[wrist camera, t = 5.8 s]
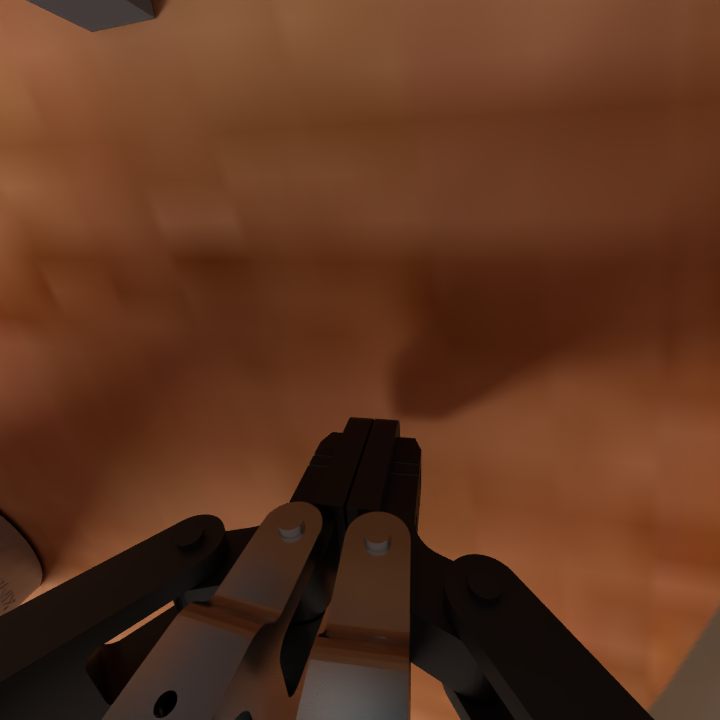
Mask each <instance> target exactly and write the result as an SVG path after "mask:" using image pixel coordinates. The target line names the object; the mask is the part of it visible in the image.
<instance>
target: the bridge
mask: <svg viewBox="0 0 720 720" xmlns="http://www.w3.org/2000/svg"><path fill="white" fill-rule="evenodd" d="M27 1H29V2H31V3H33V4H35V5H37V6H39V7H41V8H43V9H45V10H47V11H49V12H52V13H54V14H56V15H58V16H60V17H62V18H64V19H66V20H68V21H70V22H72V23H74V24H76V25H78V26H81V27H83V28H85V29H87V30H89V31H91V32H93V31H98V30H103V29H107V28H112V27H117V26H121V25H126V24H131V23H135V22H140V21H145V20H149V19H154V18H155V16H154V12H153V7H152V3H151V0H27Z"/></svg>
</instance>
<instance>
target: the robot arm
mask: <svg viewBox="0 0 720 720" xmlns="http://www.w3.org/2000/svg"><path fill="white" fill-rule="evenodd" d="M420 495H421V449H420V447H419V445H418V443H417V441H416V439H415V438H403V437H400V423H399V420H386V419H375V420H374V419H370V418H355V417H350V418H349V420H348V422H347V425H346V427H345V429H344V432H343V433H337V432H332V433H331V434H330V435H328V436H327V437H326V438H325V439H323V440H322V441H321V442H320V444H319V446H318V448H317V450H316V452H315V456H313V458H312V460H311V462H310V465H309V466H308V467H307V469H306V471H305V473H304V475H303V477H302V479H301V481H300V483H299V485H298V487H297V489H296V490H295V492H294V494H293V496H292V498H291V500H290V502H289V503H286V504H283V505H281V506H279V507H277V508H275V509H274V510H273V511H271V512H270V513H269V514H268V515H267V516H266V518H265V519H264V520H263V522H262V523H261V525H260V526H256V527H251V528H244V529H238V530H231V531H225V528H224V525H223V522H222V521H221V520H220V519H219V518H218V517H216V516H213V515H197V516H193V517H190V518H187V519H185V520H183V521H181V522H179V523H177V524H175V525H173V526H171V527H170V528H168V529H166V530H164V531H162V532H160V533H158V534H156V535H154V536H152V537H150V538H148V539H147V540H145V541H143V542H141V543H139V544H137V545H135V546H133V547H131V548H129V549H127V550H126V551H124V552H122V553H120V554H118V555H116V556H114V557H112V558H110V559H108V560H106V561H104V562H103V563H101V564H99V565H97V566H95V567H93V568H91V569H89V570H87V571H85V572H83V573H82V574H80V575H78V576H76V577H74V578H72V579H70V580H68V581H66V582H64V583H62V584H61V585H59V586H57V587H55V588H53V589H51V590H49V591H47V592H45V593H43V594H41V595H39V596H38V597H36V598H34V599H32V600H30V601H28V602H26V603H24V604H22V605H20V604H21V603H22V602H23V601H24V600H25V599H26V598H28V597H29V596H30V595H31V594H32V593H33V592H34V591H35V590H36V589H37V588H38V587H39V585H40V584H41V582H42V569H41V565H40V563H39V561H38V559H37V557H36V554H35V553H34V551H33V550H32V548H31V547H30V545H29V544H28V543H27V541H26V540H25V539H24V538H23V537H22V536H21V534H20V533H19V532H18V531H17V530H16V529H15V528H14V527H13V526H12V525H11V524H10V523H9V522H7V521H6V520H5V519H4V518H3V517H2V516H1V515H0V720H410V702H411V662H412V663H413V664H415V665H416V666H418V667H419V668H421V669H422V670H424V671H425V672H427V673H428V674H430V675H431V676H433V677H435V678H436V679H438V680H439V681H441V682H442V684H443V687H444V690H445V692H446V694H447V696H448V698H449V700H450V701H451V703H452V705H453V707H454V708H455V710H456V712H457V714H458V715H459V717H460V719H461V720H654V719H653V718H652V717H651V716H650V715H649V714H648V713H647V712H646V711H645V710H644V709H643V708H642V706H641V705H640V704H639V703H638V702H637V701H636V700H635V699H634V698H633V697H632V696H631V695H630V694H629V693H628V692H627V691H626V690H625V689H624V688H623V687H622V686H621V685H620V683H619V682H618V681H617V680H616V679H615V678H614V677H613V676H612V675H611V674H610V673H609V672H608V671H607V670H606V669H605V668H604V667H603V666H602V665H601V664H600V663H599V661H598V660H597V659H596V658H595V657H594V656H593V655H592V654H591V653H590V652H589V651H588V650H587V649H586V648H585V647H584V646H583V645H582V644H581V643H580V642H579V641H578V640H577V638H576V637H575V636H574V635H573V634H572V633H571V632H570V631H569V630H568V629H567V628H566V627H565V626H564V625H563V624H562V623H561V622H560V621H559V620H558V619H557V618H556V617H555V615H554V614H553V613H552V612H551V611H550V610H549V609H548V608H547V607H546V606H545V605H544V604H543V603H542V602H541V601H540V600H539V599H538V598H537V597H536V596H535V595H534V593H533V592H532V591H531V590H530V589H529V588H528V587H527V586H526V585H525V584H524V583H523V582H522V581H521V580H520V579H519V578H518V577H517V576H516V575H515V574H514V573H513V572H512V571H511V570H510V569H509V568H508V567H507V566H506V565H504V564H503V563H501V562H500V561H498V560H496V559H494V558H491V557H489V556H485V555H479V554H470V555H465V556H462V557H460V558H458V559H456V560H455V561H452V560H450V559H448V558H446V557H444V556H441V555H439V554H438V553H436V552H434V551H433V550H431V549H430V548H428V547H427V546H426V545H425V544H424V543H423V541H422V540H421V539H420V537H419V536H418V534H417V531H418V518H419V506H420ZM172 600H173V602H174V606H173V607H171V608H170V609H168V610H166V611H165V612H163V613H162V614H160V615H159V616H157V617H156V618H154V619H153V620H151V621H149V622H148V623H146V624H145V625H143V626H142V627H140V628H139V629H137V630H135V631H134V632H132V633H131V634H129V635H128V636H126V637H125V638H123V639H121V640H120V641H117V642H115V643H112V644H105V643H106V642H108V641H109V640H111V639H113V638H114V637H116V636H117V635H119V634H120V633H122V632H124V631H125V630H127V629H128V628H130V627H131V626H133V625H135V624H136V623H138V622H139V621H141V620H143V619H144V618H146V617H147V616H149V615H150V614H152V613H154V612H155V611H157V610H158V609H160V608H161V607H163V606H165V605H166V604H168V603H169V602H171V601H172ZM19 605H20V606H19Z"/></svg>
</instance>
